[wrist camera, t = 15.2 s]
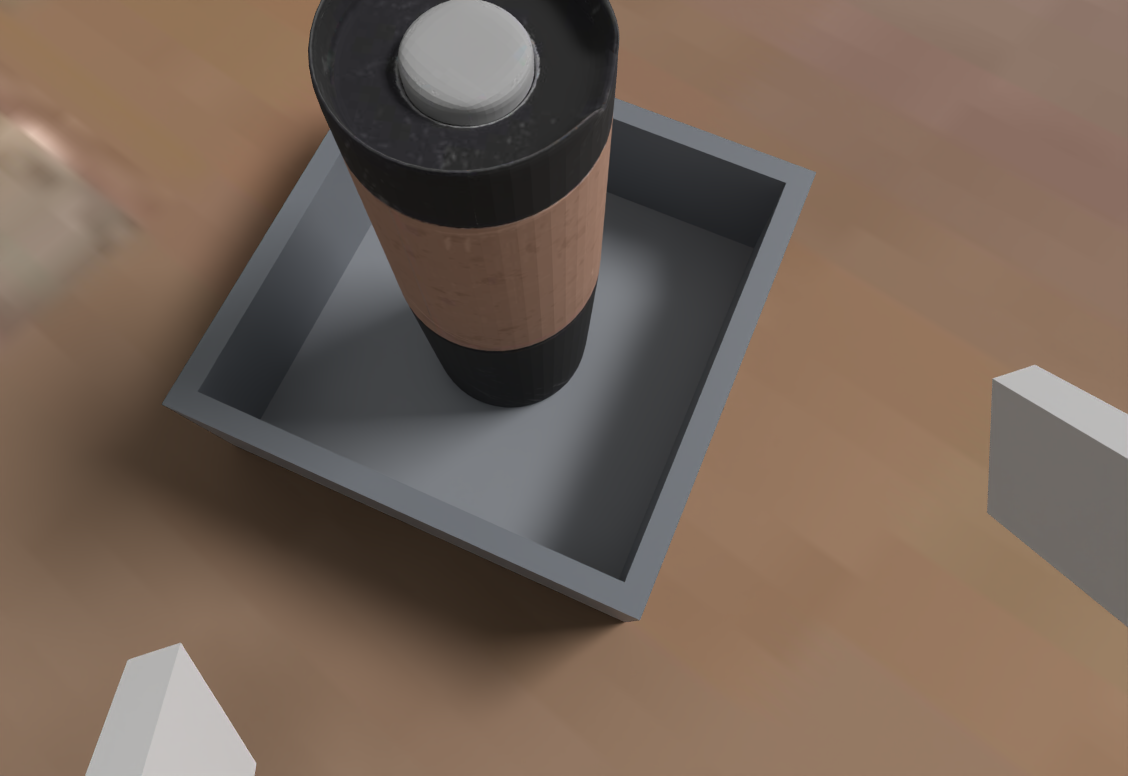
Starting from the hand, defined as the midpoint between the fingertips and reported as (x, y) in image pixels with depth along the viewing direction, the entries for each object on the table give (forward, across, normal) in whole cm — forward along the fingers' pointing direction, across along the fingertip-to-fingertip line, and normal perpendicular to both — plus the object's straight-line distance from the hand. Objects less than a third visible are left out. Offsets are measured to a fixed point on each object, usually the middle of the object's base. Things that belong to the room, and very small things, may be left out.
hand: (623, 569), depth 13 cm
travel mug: (+25, +1, -7) cm, 26 cm away
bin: (+26, +1, -7) cm, 27 cm away
